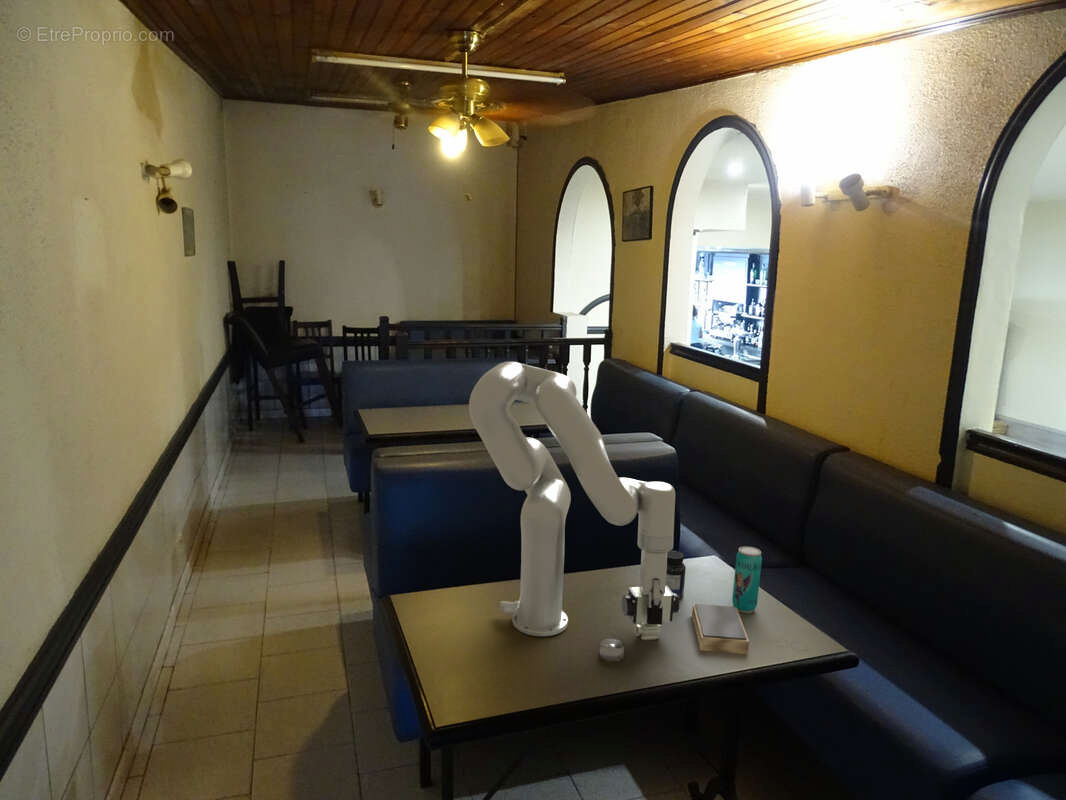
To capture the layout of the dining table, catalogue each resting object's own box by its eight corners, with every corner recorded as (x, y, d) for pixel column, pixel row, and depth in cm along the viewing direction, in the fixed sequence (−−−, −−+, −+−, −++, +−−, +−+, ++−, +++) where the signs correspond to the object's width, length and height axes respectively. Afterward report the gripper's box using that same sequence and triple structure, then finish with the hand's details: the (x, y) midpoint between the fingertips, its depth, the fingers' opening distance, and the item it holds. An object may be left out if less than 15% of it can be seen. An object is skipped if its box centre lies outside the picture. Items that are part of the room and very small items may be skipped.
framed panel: (700, 650, 157) (701, 636, 156) (691, 616, 172) (693, 602, 171) (747, 654, 156) (749, 639, 156) (735, 619, 171) (736, 605, 170)
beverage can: (727, 608, 176) (732, 550, 173) (738, 600, 180) (744, 543, 177) (749, 617, 172) (755, 557, 169) (760, 609, 176) (766, 550, 173)
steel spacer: (599, 661, 152) (600, 650, 152) (599, 648, 157) (600, 637, 156) (623, 663, 152) (624, 652, 151) (623, 650, 156) (623, 639, 156)
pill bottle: (668, 587, 186) (671, 547, 183) (688, 596, 181) (691, 555, 179) (653, 595, 181) (656, 553, 179) (673, 604, 177) (676, 561, 175)
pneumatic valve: (676, 640, 161) (681, 590, 158) (625, 643, 159) (628, 592, 156) (668, 627, 166) (672, 578, 164) (618, 630, 164) (621, 581, 161)
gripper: (636, 524, 166) (633, 593, 170) (640, 555, 149) (637, 632, 153) (669, 525, 166) (666, 595, 169) (677, 556, 149) (673, 633, 152)
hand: (652, 612), depth 161 cm, fingers open, 9 cm apart
